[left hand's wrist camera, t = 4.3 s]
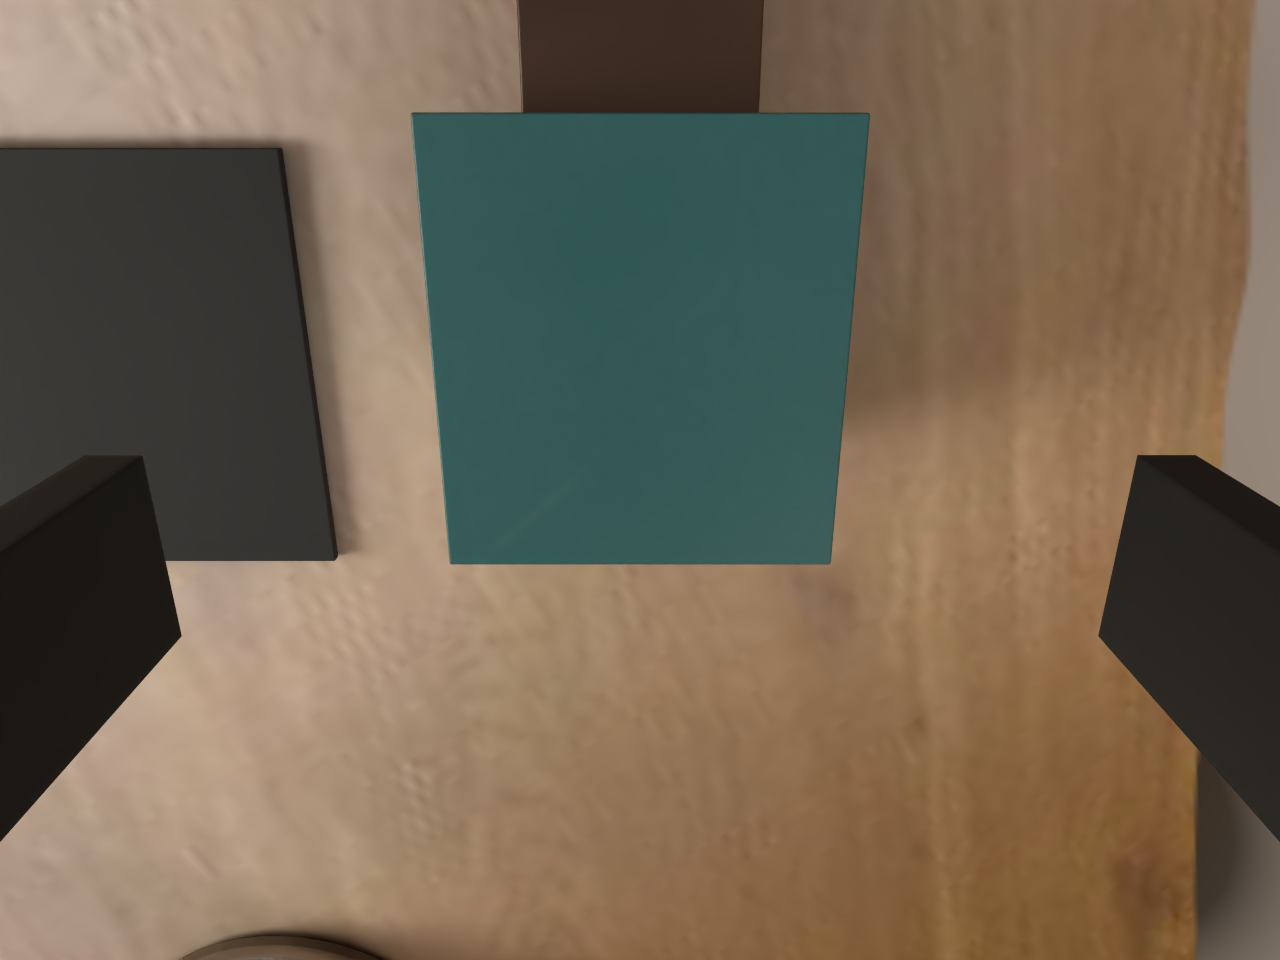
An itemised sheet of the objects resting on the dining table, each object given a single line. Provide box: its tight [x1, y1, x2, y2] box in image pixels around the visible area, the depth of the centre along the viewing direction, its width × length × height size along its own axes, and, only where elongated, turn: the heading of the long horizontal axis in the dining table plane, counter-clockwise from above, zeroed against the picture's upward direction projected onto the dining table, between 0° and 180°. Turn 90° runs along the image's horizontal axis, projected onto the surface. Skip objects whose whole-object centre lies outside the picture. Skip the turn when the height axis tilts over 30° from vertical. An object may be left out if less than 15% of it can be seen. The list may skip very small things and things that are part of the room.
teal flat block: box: [411, 113, 870, 564], centre depth 24 cm, size 11×10×5 cm
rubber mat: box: [0, 148, 338, 561], centre depth 30 cm, size 14×14×1 cm
